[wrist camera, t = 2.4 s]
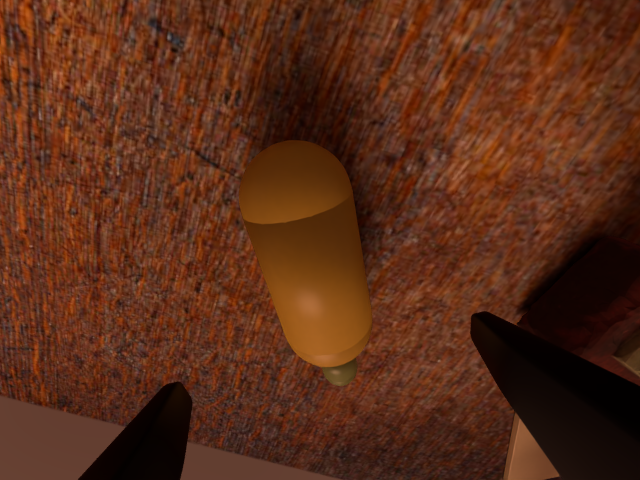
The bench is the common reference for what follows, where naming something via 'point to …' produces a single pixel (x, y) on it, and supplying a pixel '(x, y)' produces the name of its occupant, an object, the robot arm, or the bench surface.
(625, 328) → the sculpture
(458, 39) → the bench surface
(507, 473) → the birch board
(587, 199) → the bench surface
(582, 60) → the bench surface
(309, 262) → the orange rounded cylinder
